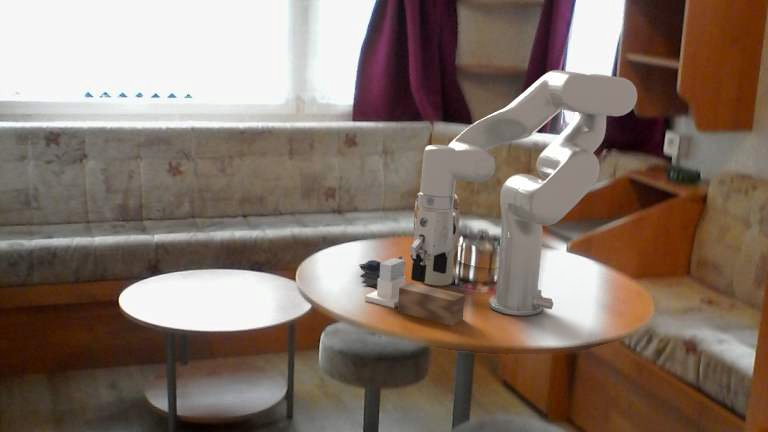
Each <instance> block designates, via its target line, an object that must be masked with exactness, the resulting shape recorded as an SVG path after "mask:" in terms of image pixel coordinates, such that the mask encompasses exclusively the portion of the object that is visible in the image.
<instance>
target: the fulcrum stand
mask: <svg viewBox="0 0 768 432" xmlns="http://www.w3.org/2000/svg"><path fill="white" fill-rule="evenodd" d="M404 285H406V276H405V259H398V258H396V257H392V258H390V259H387V260H385V261H382V263H380V278H379V279H378V283H377V287H376V290H374V291H372V292H370V293H368V294H366V295H364V302H369V303H372V302H373V303H372V304H378V305H382V306H384V307H388V308H393V309H395V308H398V300H399V287H402V286H404Z"/></svg>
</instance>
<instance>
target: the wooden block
mask: <svg viewBox="0 0 768 432" xmlns="http://www.w3.org/2000/svg"><path fill="white" fill-rule="evenodd" d="M464 306H465V294H464V293H463V294H462V293H458V292H454V291H450V290H445V289H441V288H436V287H434V286H433V287H432V286H429V285H422V284H419V283H414V282H408V283H405V285H404V286H402V287H399V300H398V306H397V312H398V313H401V314H404V315H409V316H413V317H417V318H421V319H425V320H428V321H433V322H437V323H441V324H445V325H449V326H454V325H456V324H458V323H459V322H461V321H462V320H464V310H465V309H464V308H465V307H464Z"/></svg>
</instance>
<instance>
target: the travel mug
mask: <svg viewBox="0 0 768 432" xmlns="http://www.w3.org/2000/svg"><path fill="white" fill-rule="evenodd" d="M455 216H456V214H455V213H454V212H453V239H452V247H451V249H450V250H448V251H449V255H448V256H446V257H448V259H447V268H446V273H445V274H442V273H438V272H434V271H433V262H434V256H430V254H429V256H428V258H427V260H426V262H425V265H427V266H426V276H425V282H423V283H424V284H425V285H427V286H431V287H432V286H433V287H444V286H445V287H446V286H448V285H451V284H452V283H453V272H454V262H455V261H454V260H455V254H454V248H455V234H456V226H455V223H454V218H455ZM424 251H426V250H424ZM422 257H423V255H421V258H422Z"/></svg>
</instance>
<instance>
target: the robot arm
mask: <svg viewBox="0 0 768 432" xmlns="http://www.w3.org/2000/svg"><path fill="white" fill-rule="evenodd" d="M637 100H638V92H637V88H636V86H635V85H634V83H633V82H632V81H631V80H629V79H628V78H625V77H620V76H618V77H617V76H613V75H605V74H601V73H600V74H599V73H592V74H591V73H590V74H587V73H586V74H585V73H580V72H574V71H566V70H561V69H554V70H550V71H548V72H546V73H545V74H543V75H541V76H540V78H538V79H537V80H536V81H535V82H534V83H532V84H531V86H529V87H528V88H527V89H526V90H525V91H524V92H522V93H521V94H520V95H518V97H516V98H515V99H513V101H511V103H509V104H508V105H507V106H506V107H504V108H502V109H500V110H498V111H496V112H494V113H492V114H490V115H487V116H486V117H483V118H482V119H479V120H478V121H476V122H474V123H473V124H471V125H469V126H468V127H467V128H466V129H465V130H463V131H462V132H461V133H460V134H458V136H457V137H455V138H454V139H453V140H452V141H451V142H450V143H449V144H448V145H444V144H431V145H427V146H426V147H425V148H424V150H423V157H422V164H421V165H422V167H421V178H420V189H419V192H420V197H419V208H420V209H419V213H418V218H417V224H416V230H415V238H414V243H412V244H411V245H410V248H409V249H410V250H409V251H410V257H411V258H410V259H411V263H412V264H411V267H412V268H411V274H410V275H411V277H410V279H411V281H415V282H417V283H421V284H422V283H424V282H425V276H426V266H427V265H425V262H426V260H427V258H428V256H429V254H430V256H434V262H433V271H434V272H438V273H442V274H445V273H446V268H447V259H448V257H446V256H448V255H449V251H448V250H450V249H451V247H452V239H453V202H454V194H455V191H456V181H457V180H459V181H460V180H461V181H465V182H471V183H472V182H473V183H480V182H481V183H482V182H484V181H487V180H488V179H490V178H491V177H492V176H493V175H494V172H495V170H496V160H495V158H494V156H493V155H492V154H491V153H490V152H489V150H492V149H493V148H495V147H497V146H500V145H502V144H507V143H510V142H516V141H521V140H525V139H528V138H530V137H531V136H533V135H534V134H535V133H536V132H538V131H539V130H540V129H541V128H542V127H543V126H544V125H546V124H547V123H548V122H549V121H550V120H551V119H552V118H553V117H555V116H556V115H557V114H558V113H559V112H561V111H562V110H563V111H566V112H571V113H574V115H573V117H572V119H571V121H570V123H569V124H568V125H567V126H566V128H564V130H562V131H561V132H560V134H558V136H556V137H555V139H554V140H552V142H550V143H549V145H548V146H547V147H545V148H544V149H543V151H542V152H540V154H539V156H538V157H537V160H536V165H535V166H536V170H537V173H538V174H539V175H540V176H541V177H542V179H541V178H540V177H536V176H534V175H531V174H527V173H519V174H517V173H516V174H514V175H512V176H510V177H509V178H508V179H506V181H504V183H503V185H502V188H501V189H500V196H499V197H500V198H499V199H500V200H499V201H500V203H499V204H500V213H501V234H500V241H499V242H500V243H499V257H498V268H497V279H496V294H495V295H494V296H491V297H490V298H489V299H488V306H489V307H490V308H491V309H493V310H494V311H496V312H498V313H502V314H505V315H510V316H521V317H522V316H523V317H524V316H534V315H538V314H540V313H541V312H542V311H543V308H544V309H547V310H552V309H553V307H554V301H553V299H552V298H550V297H545V296H543V295H542V290H541V289H539V278H540V269H541V268H540V267H541V258H542V249H543V248H542V246H543V238H544V234H543V226H551V225H553V224H556V223H558V222H559V221H560V220H562V219H563V218H564V217H565V216H566V215H567V213H569V212H570V211H571V210H572V209H573V208H574V207H575V206H576V205H577V204H578V203H579V202H580V201H581V200H582V199H583V198H585V196H586V194H588V192H589V191H590V190H591V189H592V188H593V187H594V185H595V184H596V183H597V180H598V178H599V174H600V162H599V159H598V158H597V156H596V155H595V151H596V150H597V149H598V148H599V147H600V145H601V144H602V143H603V141H604V138H605V135H606V130H607V129H606V128H607V117H608V116H610V117H611V116H612V117H620V116H625V115H626V114H628V113H630V112H631V111H632V110H633V109H634V107H635V105H636V104H637ZM424 250H426V251H424ZM422 255H423V257H422Z"/></svg>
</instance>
